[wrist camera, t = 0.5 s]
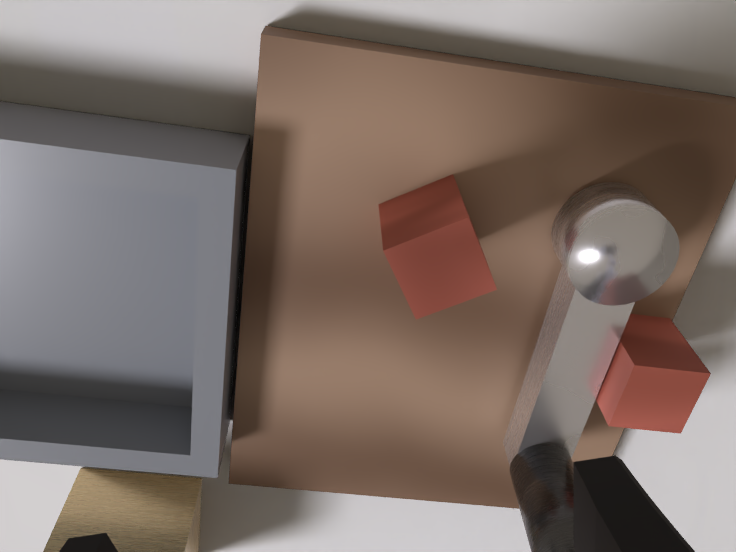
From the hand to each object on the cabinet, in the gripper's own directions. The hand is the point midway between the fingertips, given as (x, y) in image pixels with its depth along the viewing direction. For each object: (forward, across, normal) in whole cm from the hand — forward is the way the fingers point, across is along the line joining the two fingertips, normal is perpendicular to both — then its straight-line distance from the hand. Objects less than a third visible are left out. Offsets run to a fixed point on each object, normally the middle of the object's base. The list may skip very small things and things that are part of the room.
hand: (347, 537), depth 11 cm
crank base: (+9, -3, +3) cm, 10 cm away
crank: (+8, -6, +4) cm, 11 cm away
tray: (+10, +8, 0) cm, 13 cm away
